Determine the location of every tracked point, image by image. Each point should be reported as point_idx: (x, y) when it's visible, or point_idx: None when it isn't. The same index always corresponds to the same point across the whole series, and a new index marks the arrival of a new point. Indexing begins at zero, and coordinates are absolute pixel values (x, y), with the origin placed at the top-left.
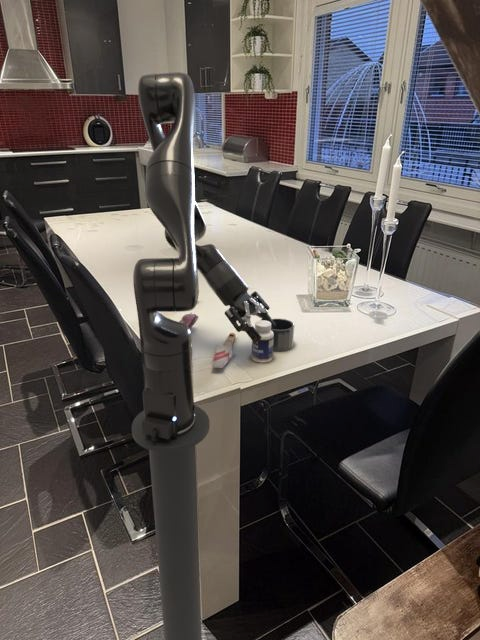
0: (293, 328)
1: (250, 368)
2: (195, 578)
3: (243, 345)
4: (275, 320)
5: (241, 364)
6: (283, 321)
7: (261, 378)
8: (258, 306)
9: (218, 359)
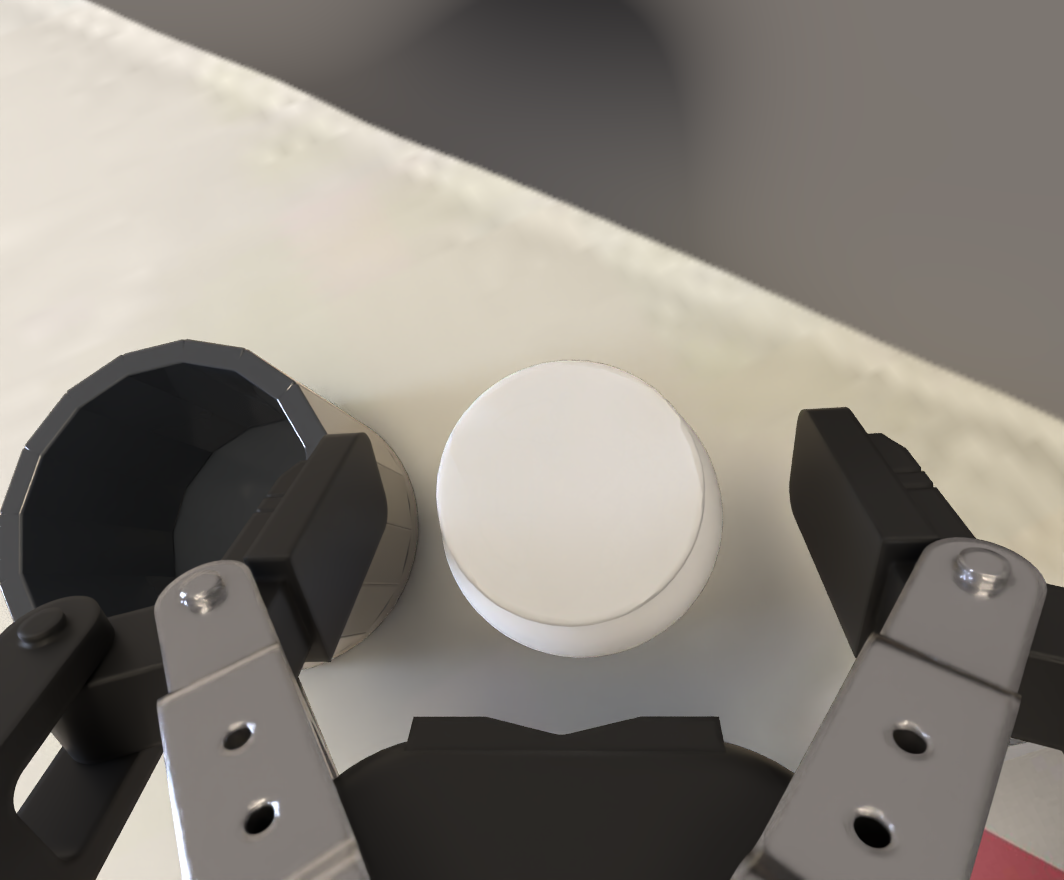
0: (180, 347)
1: None
2: None
3: None
4: None
5: (797, 644)
6: (38, 527)
7: (902, 379)
8: (299, 715)
9: (1035, 857)
